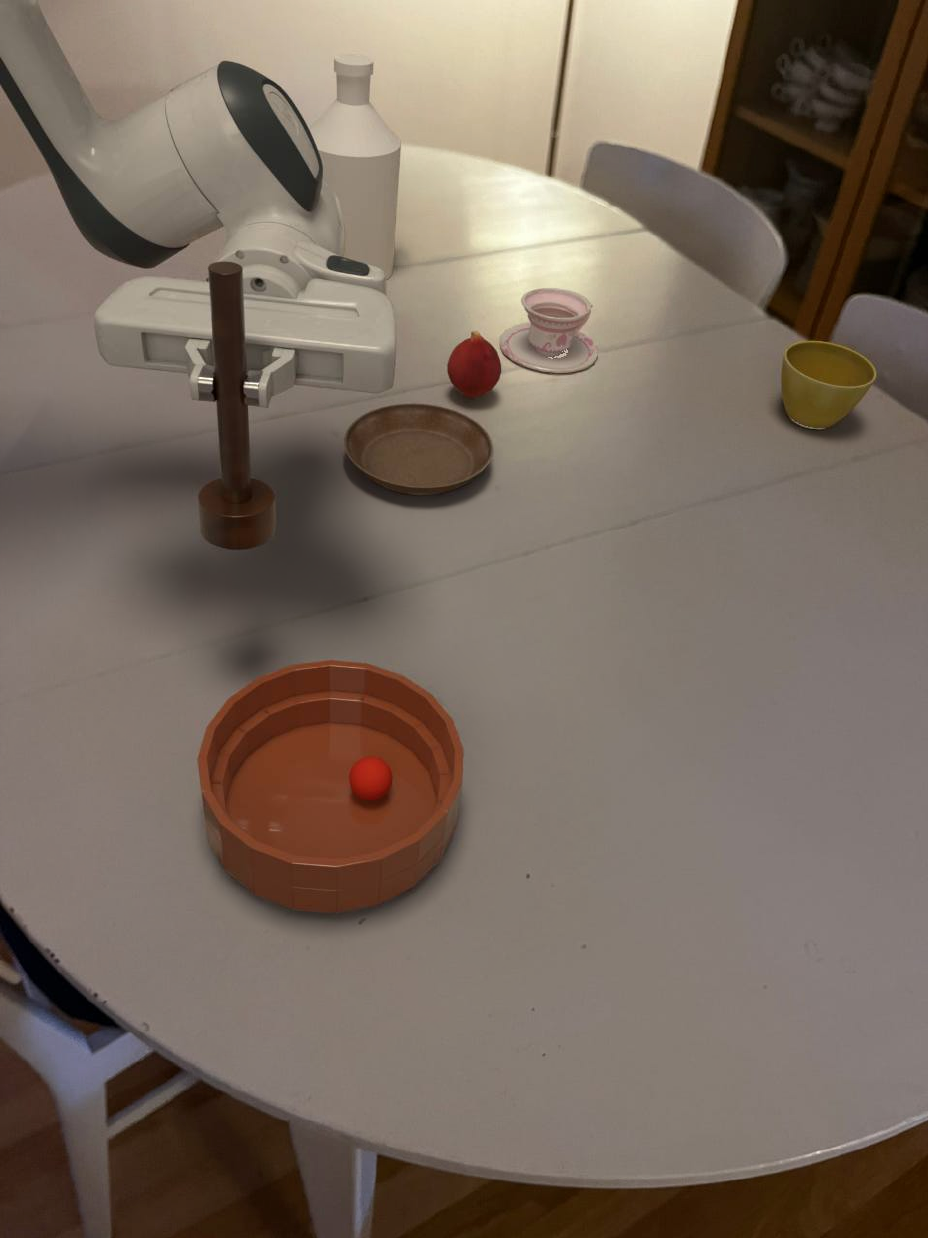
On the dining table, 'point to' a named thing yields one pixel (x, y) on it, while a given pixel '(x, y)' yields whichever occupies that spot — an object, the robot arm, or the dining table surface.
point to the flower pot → (823, 382)
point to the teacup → (551, 332)
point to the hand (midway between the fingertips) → (228, 394)
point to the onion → (474, 366)
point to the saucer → (418, 448)
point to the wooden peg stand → (233, 428)
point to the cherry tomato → (370, 778)
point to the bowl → (329, 785)
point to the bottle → (360, 164)
